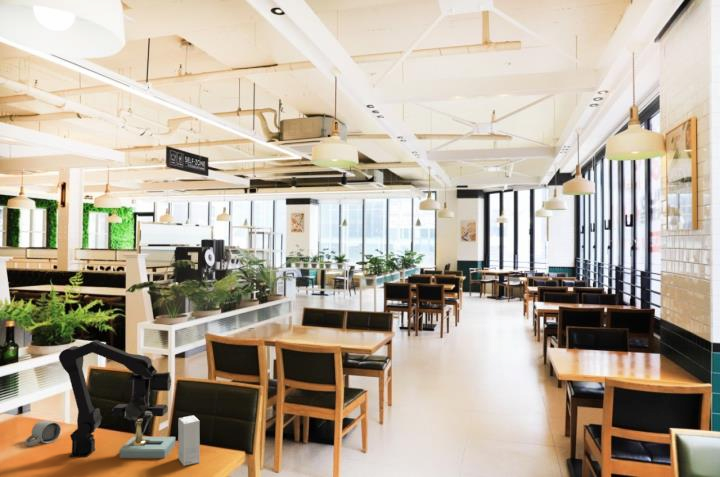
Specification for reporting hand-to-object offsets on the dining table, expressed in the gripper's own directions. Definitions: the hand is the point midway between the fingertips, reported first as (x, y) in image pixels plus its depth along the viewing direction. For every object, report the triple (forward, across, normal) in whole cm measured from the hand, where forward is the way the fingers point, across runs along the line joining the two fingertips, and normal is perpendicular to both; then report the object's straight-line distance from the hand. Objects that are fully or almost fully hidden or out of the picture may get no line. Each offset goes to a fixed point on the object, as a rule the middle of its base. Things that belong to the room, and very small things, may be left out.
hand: (139, 433), depth 184 cm
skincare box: (+7, +21, -8) cm, 23 cm away
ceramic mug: (+7, -40, +9) cm, 42 cm away
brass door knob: (+4, 0, 0) cm, 5 cm away
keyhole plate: (+7, +4, 0) cm, 8 cm away
